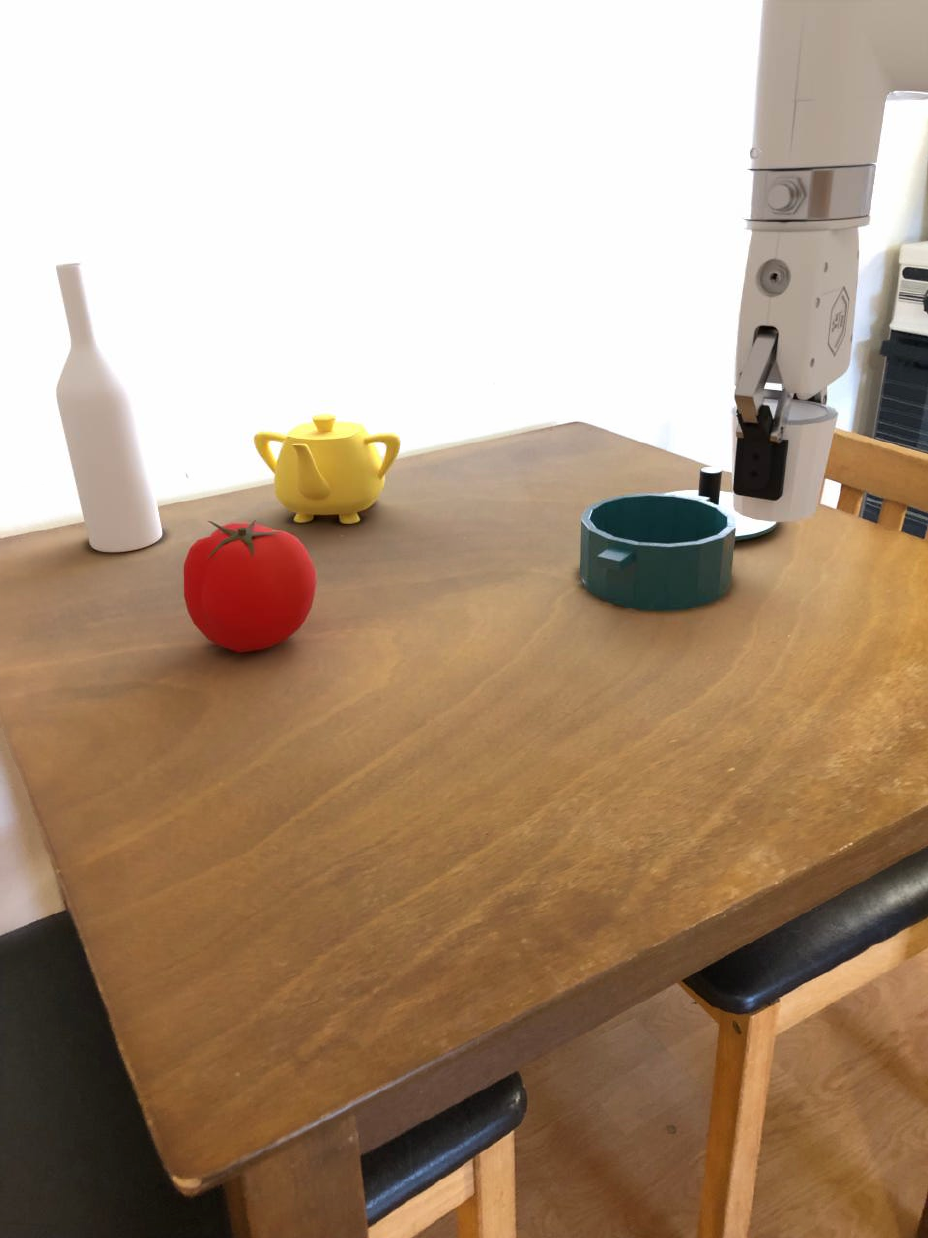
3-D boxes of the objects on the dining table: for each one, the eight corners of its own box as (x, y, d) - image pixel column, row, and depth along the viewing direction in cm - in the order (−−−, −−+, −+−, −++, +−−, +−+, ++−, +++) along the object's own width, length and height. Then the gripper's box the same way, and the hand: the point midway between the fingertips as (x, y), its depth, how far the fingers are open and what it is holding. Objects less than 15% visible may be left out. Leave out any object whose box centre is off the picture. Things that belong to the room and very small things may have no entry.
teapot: (251, 512, 115) (238, 417, 110) (351, 486, 123) (342, 396, 118) (306, 543, 105) (294, 440, 100) (410, 513, 113) (404, 416, 108)
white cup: (824, 529, 62) (838, 425, 59) (718, 521, 64) (726, 420, 61) (826, 495, 68) (838, 398, 64) (728, 488, 70) (736, 395, 67)
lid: (796, 512, 109) (803, 462, 106) (747, 557, 98) (753, 501, 95) (672, 490, 117) (676, 443, 115) (614, 529, 106) (616, 477, 103)
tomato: (195, 619, 88) (175, 508, 84) (316, 604, 91) (304, 495, 86) (191, 681, 78) (168, 558, 73) (328, 662, 80) (315, 541, 75)
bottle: (145, 553, 104) (87, 268, 91) (77, 552, 105) (10, 269, 92) (173, 527, 111) (124, 259, 98) (109, 526, 112) (52, 261, 99)
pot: (761, 560, 97) (768, 501, 94) (679, 636, 82) (684, 568, 79) (634, 534, 105) (637, 478, 102) (539, 598, 90) (539, 535, 87)
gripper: (825, 211, 49) (788, 530, 57) (906, 189, 61) (867, 454, 69) (690, 212, 53) (673, 510, 61) (792, 192, 65) (767, 441, 73)
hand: (776, 478), depth 65 cm, fingers closed on white cup, 6 cm apart
